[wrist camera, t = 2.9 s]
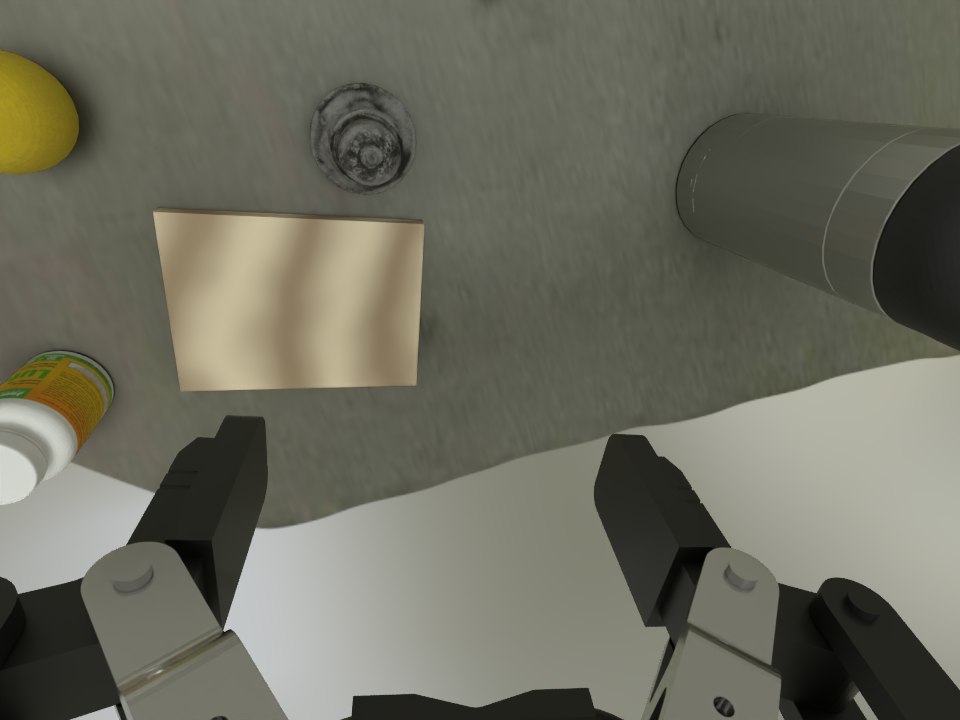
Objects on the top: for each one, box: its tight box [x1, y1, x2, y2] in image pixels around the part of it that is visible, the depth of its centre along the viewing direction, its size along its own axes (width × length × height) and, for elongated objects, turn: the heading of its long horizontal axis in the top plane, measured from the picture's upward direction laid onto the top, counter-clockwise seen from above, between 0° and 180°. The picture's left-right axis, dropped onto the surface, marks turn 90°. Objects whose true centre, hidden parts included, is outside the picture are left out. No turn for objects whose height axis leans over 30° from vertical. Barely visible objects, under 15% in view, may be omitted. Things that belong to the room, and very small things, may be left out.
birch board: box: [153, 208, 424, 391], centre depth 38 cm, size 16×12×1 cm
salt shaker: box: [310, 83, 416, 195], centre depth 29 cm, size 6×6×12 cm
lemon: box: [0, 50, 79, 174], centre depth 27 cm, size 6×6×8 cm
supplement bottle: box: [0, 351, 114, 505], centre depth 33 cm, size 5×5×10 cm
